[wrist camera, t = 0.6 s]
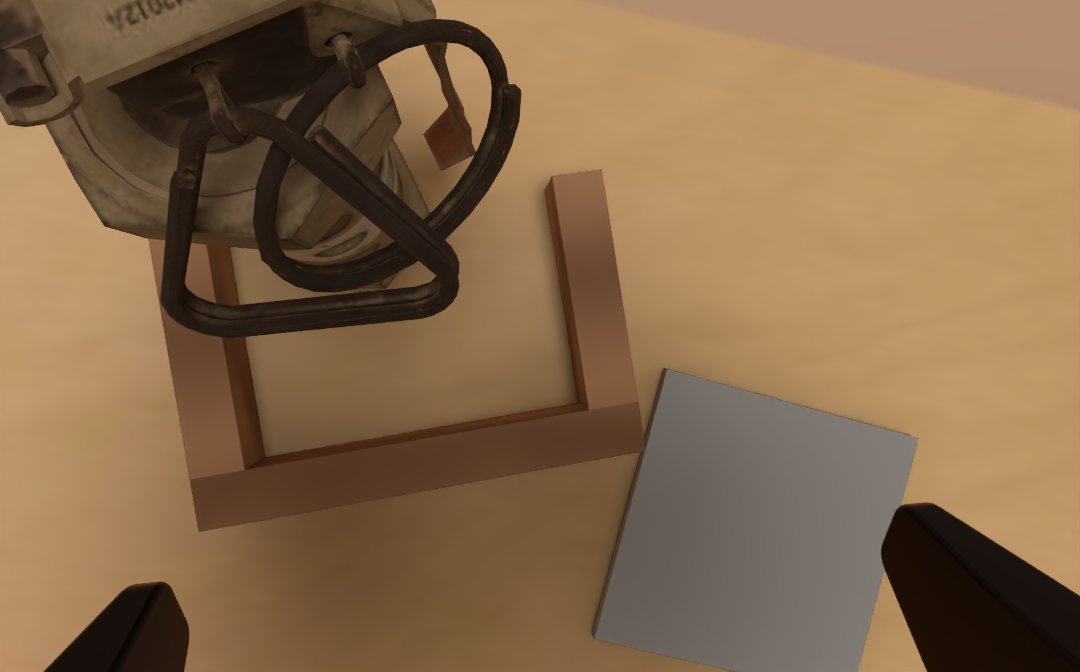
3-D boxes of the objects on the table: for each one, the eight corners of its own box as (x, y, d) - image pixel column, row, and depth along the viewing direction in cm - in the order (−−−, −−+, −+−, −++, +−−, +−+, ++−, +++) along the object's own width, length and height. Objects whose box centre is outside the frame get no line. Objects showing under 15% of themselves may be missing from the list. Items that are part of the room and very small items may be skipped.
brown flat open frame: (630, 440, 23) (646, 450, 21) (223, 513, 22) (198, 531, 20) (590, 183, 23) (601, 169, 21) (177, 241, 21) (147, 232, 19)
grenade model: (348, 372, 22) (95, 459, 7) (247, 171, 22) (-241, -183, 7) (530, 284, 23) (653, 194, 8) (435, 87, 22) (369, -411, 7)
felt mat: (844, 692, 24) (850, 698, 23) (592, 633, 23) (594, 639, 22) (911, 436, 24) (918, 438, 24) (664, 368, 23) (667, 369, 23)
